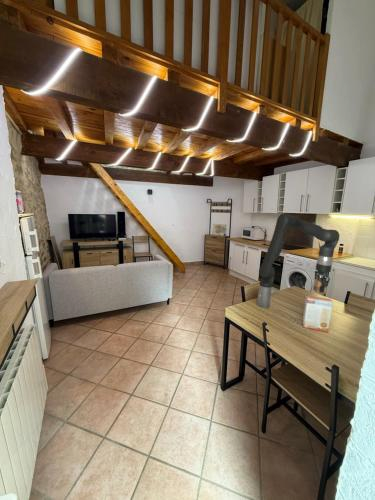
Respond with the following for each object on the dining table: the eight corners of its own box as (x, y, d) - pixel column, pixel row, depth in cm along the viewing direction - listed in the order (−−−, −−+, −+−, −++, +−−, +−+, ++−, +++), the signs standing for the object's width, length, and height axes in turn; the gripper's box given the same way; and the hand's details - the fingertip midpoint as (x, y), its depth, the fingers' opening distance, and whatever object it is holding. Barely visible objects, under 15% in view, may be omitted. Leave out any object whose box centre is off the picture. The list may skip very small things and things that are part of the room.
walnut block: (316, 292, 121) (318, 281, 119) (312, 289, 125) (314, 278, 124) (325, 293, 120) (327, 282, 118) (321, 290, 125) (323, 279, 123)
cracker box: (325, 328, 134) (330, 298, 130) (328, 332, 128) (333, 302, 124) (301, 323, 139) (306, 294, 135) (303, 327, 133) (307, 298, 129)
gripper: (312, 259, 127) (307, 285, 130) (322, 265, 113) (317, 294, 116) (325, 260, 125) (320, 286, 129) (337, 267, 111) (332, 295, 115)
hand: (319, 290), depth 122 cm, fingers closed on walnut block, 5 cm apart
